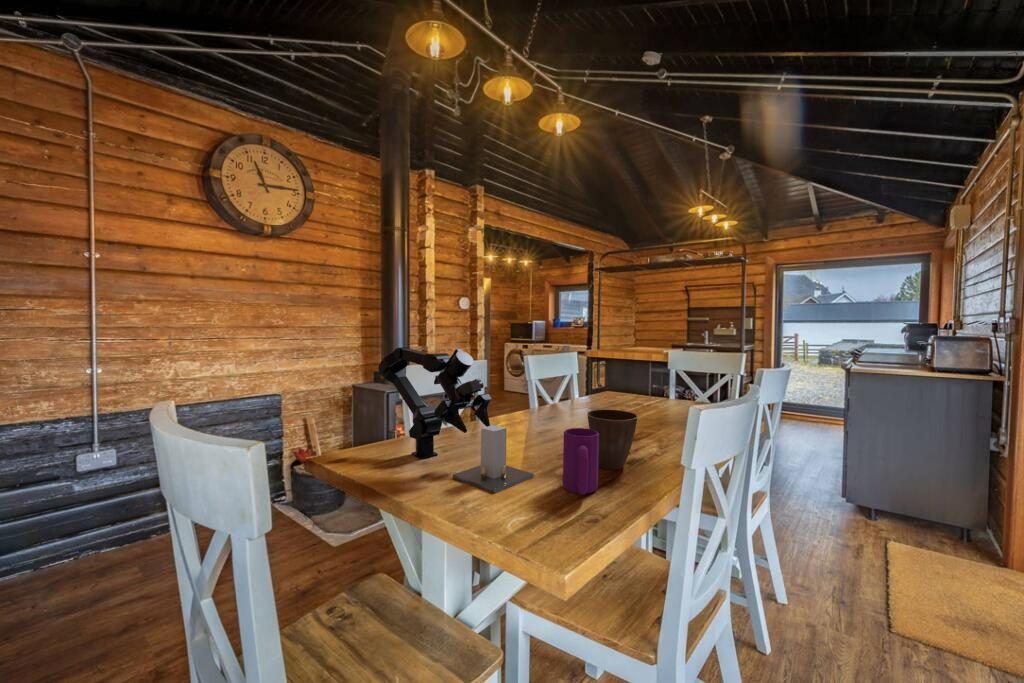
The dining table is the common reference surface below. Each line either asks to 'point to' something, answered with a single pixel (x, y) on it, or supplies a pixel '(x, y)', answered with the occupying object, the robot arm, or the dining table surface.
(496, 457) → the block
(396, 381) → the robot arm
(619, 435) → the plant pot
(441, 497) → the dining table surface
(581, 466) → the mug
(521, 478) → the plate
